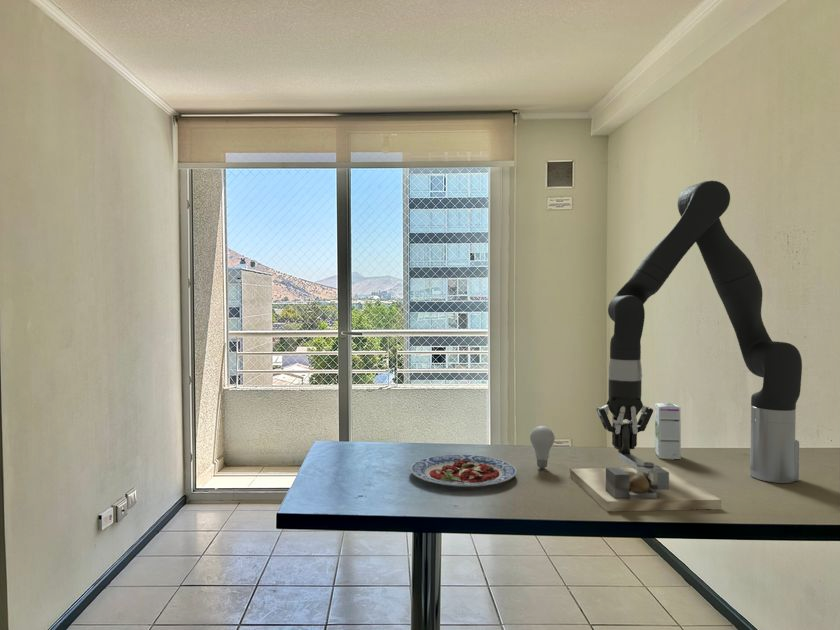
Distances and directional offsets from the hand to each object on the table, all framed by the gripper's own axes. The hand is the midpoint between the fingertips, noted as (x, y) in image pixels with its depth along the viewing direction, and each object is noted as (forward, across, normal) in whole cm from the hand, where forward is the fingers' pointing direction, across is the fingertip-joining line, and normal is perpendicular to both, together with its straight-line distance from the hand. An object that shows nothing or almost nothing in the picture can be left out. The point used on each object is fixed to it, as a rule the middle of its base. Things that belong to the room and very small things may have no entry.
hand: (624, 448), depth 137 cm
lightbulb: (+7, +18, -8) cm, 21 cm away
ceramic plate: (+8, +39, -3) cm, 40 cm away
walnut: (+5, +4, +18) cm, 19 cm away
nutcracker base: (+7, +1, +10) cm, 13 cm away
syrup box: (+7, -20, -18) cm, 28 cm away
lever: (+4, 0, +9) cm, 10 cm away
